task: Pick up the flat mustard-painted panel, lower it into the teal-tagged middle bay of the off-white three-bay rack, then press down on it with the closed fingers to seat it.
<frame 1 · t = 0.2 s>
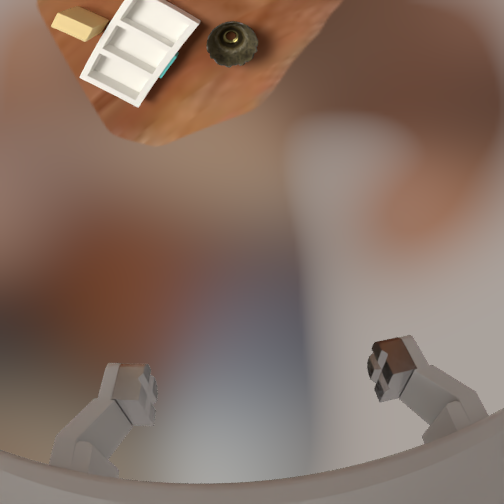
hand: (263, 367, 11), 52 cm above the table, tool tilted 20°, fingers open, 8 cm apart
rack: (140, 43, 42), on the table
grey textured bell: (230, 35, 44), on the table
panel: (89, 18, 36), on the table
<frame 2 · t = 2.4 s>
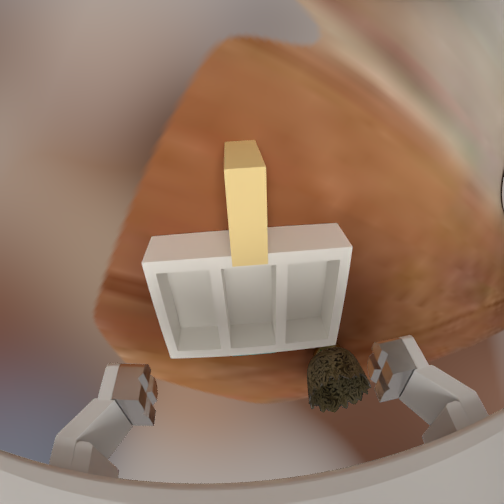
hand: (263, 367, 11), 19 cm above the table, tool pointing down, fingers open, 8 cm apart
rack: (248, 282, 33), on the table
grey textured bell: (325, 346, 40), on the table
panel: (241, 179, 27), on the table
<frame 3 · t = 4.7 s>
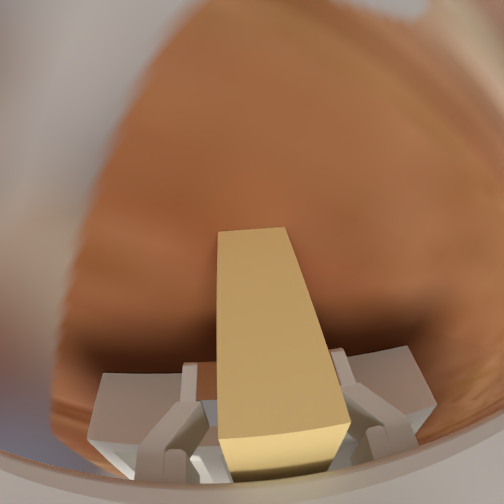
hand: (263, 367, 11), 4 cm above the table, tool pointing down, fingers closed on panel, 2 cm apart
rack: (260, 420, 19), on the table
panel: (254, 301, 14), on the table, touching gripper
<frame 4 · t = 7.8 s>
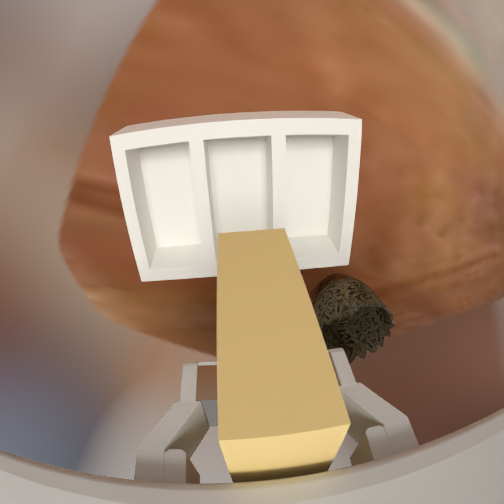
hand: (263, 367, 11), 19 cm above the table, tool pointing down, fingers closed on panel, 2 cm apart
rack: (238, 184, 27), on the table
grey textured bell: (333, 284, 34), on the table
panel: (254, 302, 14), point 15 cm above the table, touching gripper
when the fingers open (6 cm above the table, at t = 11.0 s): panel drops 1 cm, resting on rack.
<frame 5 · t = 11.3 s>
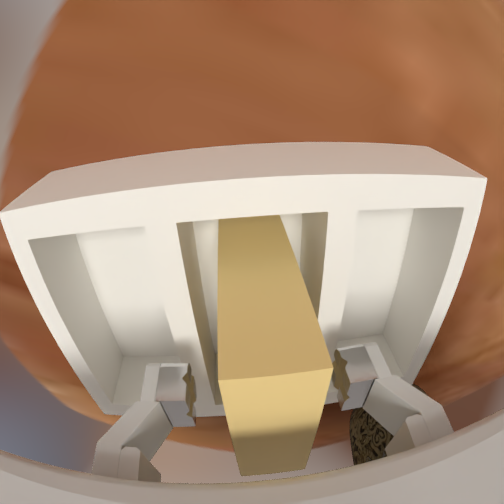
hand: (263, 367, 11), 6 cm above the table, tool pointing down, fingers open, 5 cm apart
rack: (249, 269, 16), on the table
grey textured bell: (375, 378, 23), on the table
panel: (252, 282, 15), point 1 cm above the table, touching rack
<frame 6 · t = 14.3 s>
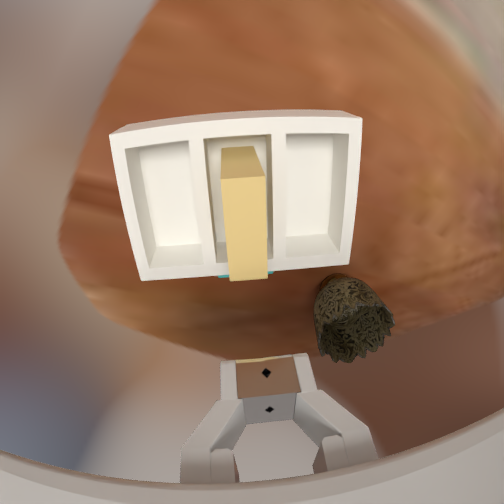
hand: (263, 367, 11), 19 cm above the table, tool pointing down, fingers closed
rack: (238, 183, 27), on the table
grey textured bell: (333, 283, 34), on the table
panel: (239, 187, 26), point 1 cm above the table, touching rack
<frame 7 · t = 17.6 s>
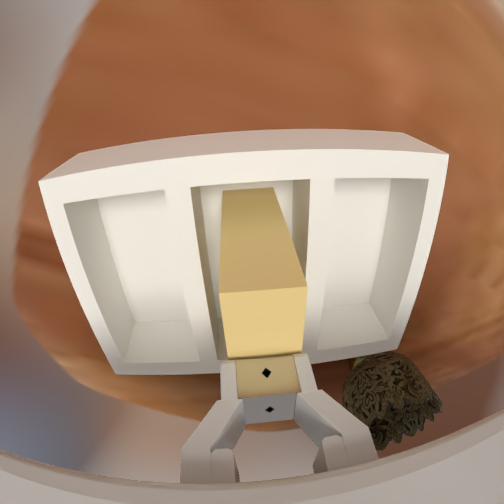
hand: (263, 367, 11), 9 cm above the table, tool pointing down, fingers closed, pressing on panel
rack: (248, 239, 18), on the table
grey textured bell: (366, 351, 25), on the table
panel: (250, 249, 17), point 1 cm above the table, touching gripper, rack
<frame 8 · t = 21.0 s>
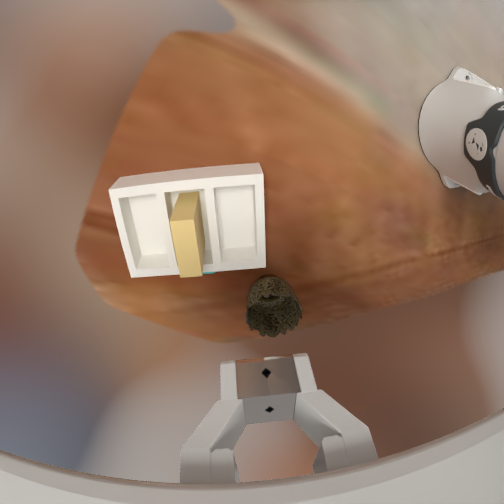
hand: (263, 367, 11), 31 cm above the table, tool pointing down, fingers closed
rack: (192, 214, 41), on the table
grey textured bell: (267, 280, 48), on the table
panel: (192, 217, 40), point 1 cm above the table, touching rack
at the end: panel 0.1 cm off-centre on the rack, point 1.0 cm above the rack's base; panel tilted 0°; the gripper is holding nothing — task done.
